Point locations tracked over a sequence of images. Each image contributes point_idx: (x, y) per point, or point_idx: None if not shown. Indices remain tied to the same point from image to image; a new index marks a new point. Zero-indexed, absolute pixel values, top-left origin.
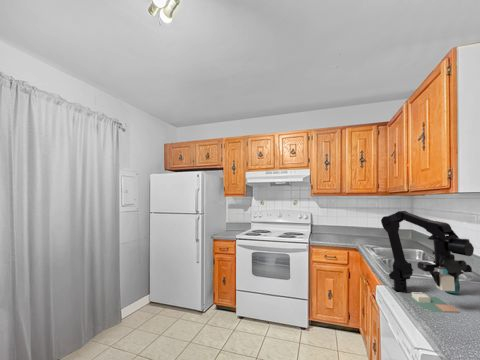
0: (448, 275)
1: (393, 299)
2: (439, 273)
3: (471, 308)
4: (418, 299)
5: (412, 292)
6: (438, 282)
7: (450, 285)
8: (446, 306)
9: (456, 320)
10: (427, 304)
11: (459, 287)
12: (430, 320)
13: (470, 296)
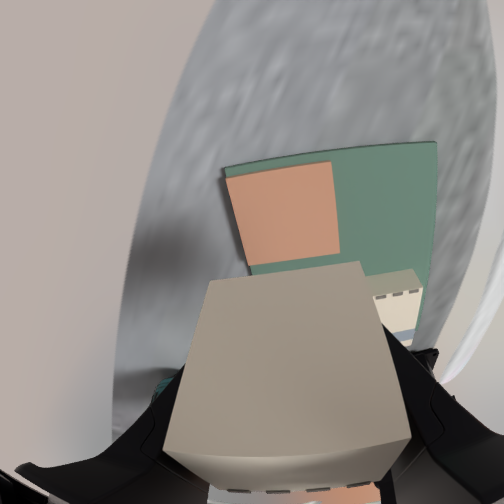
0: (230, 475)
1: (496, 277)
2: (484, 483)
3: (143, 262)
4: (417, 280)
5: (409, 342)
6: (399, 354)
7: (251, 325)
8: (281, 236)
9: (297, 55)
10: (381, 249)
11: (151, 401)
12: (452, 40)
13: (128, 367)
